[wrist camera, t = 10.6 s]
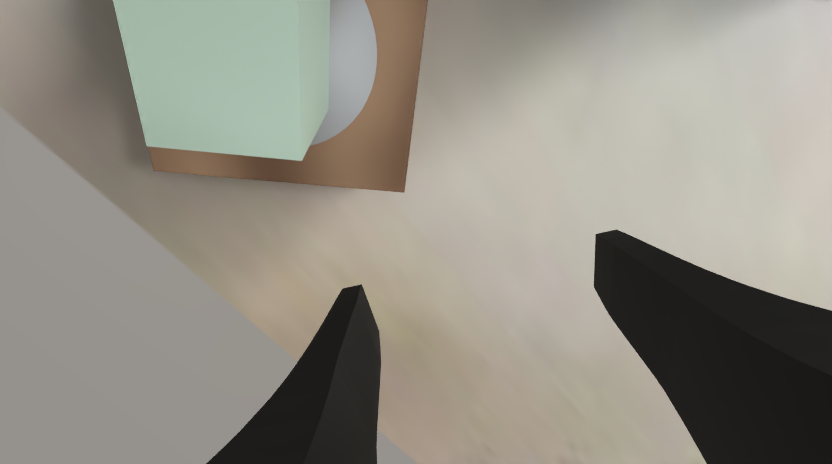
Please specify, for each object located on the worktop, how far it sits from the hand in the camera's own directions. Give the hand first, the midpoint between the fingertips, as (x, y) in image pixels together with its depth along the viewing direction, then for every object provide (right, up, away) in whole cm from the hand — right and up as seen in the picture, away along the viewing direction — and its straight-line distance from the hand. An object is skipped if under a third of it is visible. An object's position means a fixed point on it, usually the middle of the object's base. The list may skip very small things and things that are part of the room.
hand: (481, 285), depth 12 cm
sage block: (-7, +9, +3) cm, 12 cm away
